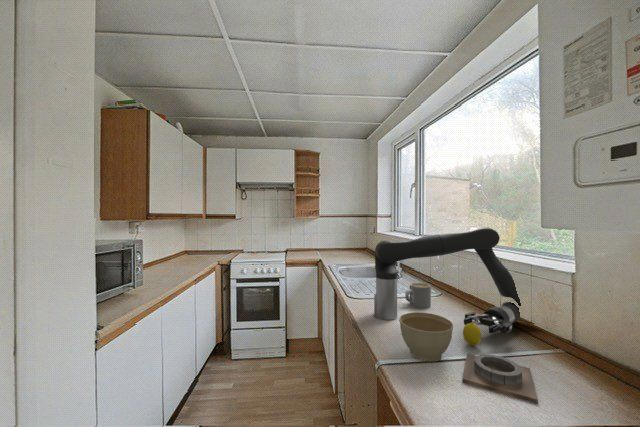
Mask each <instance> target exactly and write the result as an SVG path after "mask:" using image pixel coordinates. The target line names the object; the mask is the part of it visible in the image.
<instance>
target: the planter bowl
mask: <svg viewBox="0 0 640 427" xmlns="http://www.w3.org/2000/svg"><path fill="white" fill-rule="evenodd" d="M399 325H400V332H401V335H402V339H403V341H404V343H405V345H406V346H407V347H408V349H409V352H410V355H412V357H414V358H416V359H418V360H421V361H425V362H437V361H440V360H441V359H442V356H443V354H444V353H445V352H446V351H447V350H448V348H449V347H450V344H451V342H452V338H453V337H452V336H453V330H454V323H453V322H452V321H451V320H449V319H448V318H446V317H443V316H441V315H438V314H435V313H429V312H420V311H419V312H417V311H414V312H412V311H411V312H407V313H403V314H402V315H400V316H399Z"/></svg>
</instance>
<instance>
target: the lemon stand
mask: <svg viewBox="0 0 640 427" xmlns="http://www.w3.org/2000/svg"><path fill="white" fill-rule="evenodd" d="M462 383H463V384H466V385H471V386H474V387H476V388H477V387H478V388H480V389H484V390H488V391H492V392H495V393H499V394H502V395H506V396H509V397H513V398H517V399H521V400H523V401H527V402H530V403H534V404H539V399H538V395H537V392H536V387H535V386H536V385H535V382H534V379H533V375H532V371H531V368H530V367H526V366H523V365H519V364H518V363H516V362H515V361H514V360H511V359H508V358H506V357H503V356H500V355H495V354H487V353H486V354H485V353H484V354H483V353H481V354H478V355H474V354H470V353H466V355H465V362H464V368H463V375H462Z"/></svg>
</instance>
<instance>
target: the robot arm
mask: <svg viewBox="0 0 640 427" xmlns="http://www.w3.org/2000/svg"><path fill="white" fill-rule="evenodd" d="M500 239H501V238H500V234H499V233H498V231H497V230H495V229H493V228H490V227H481V228H477V229H474V230H469V231H465V232H451V233H450V232H449V233H438V234H429V235H426V236H425V235H424V236H422V237H418V238H415V239H412V240H409V241H402V242H392V241H388V240H383V241H380V242H378V243H377V244H376V245H375V250H374V269H375V293H374V299H373V300H374V302H373V305H374V308H373V309H374V310H373V313H374V314H373V315H374V317H377V318H378V319H381V320H387V321H391V320H396V319H397V318H398V271H397V270H398V269H397V267H396V265H397V263H396V262H400V261H404V260H409V259H410V260H411V259H416V258H417V259H420V258H430V257H431V258H432V257H437V256H438V257H440V256H445V255H450V254H454V253H458V252H462V251H467V250H474V251H475V253H476V255H478V257H479V258H480V260H481V262H482V263H483V265H484V266H485V267H486V269H487V271H488V273H489V274H490V277H491V278H492V281H493V282H494V285H495V286H496V289H497V290H498V292H499V294H500V296H501V297H504V298H509V299H513V301H516V302H517V303H518V305H519V306H521V303H520V299H519V297H518V294H517V291H516V287H515V283H516V282H515V283H514V281H515V280H513V279H514V278H513V276H512V274H511V273H510V271H509V270H508V269H507V267H506V266H505V265H504V264H503V263H502V262H501V261H500V259H499V257H497V255H496V254H495V252H494V250H493V248H495V247H496V246H498V244H499V242H500ZM519 317H520V312H519V308H518V307H517V306H516V305H515V304H514V303H511V302H508V301H505V302H503V303H502V304H501V305H496V306H494V307H491V308H489V309H486V310H485V311H484V312H483V313H482V314H477V313H476V312H475V311H471V312H467V313H465V314H464V318H463V325H464V326H465V325H467V324H469V323H473V324H475V325H477V326H484V327H488V333H489V334H490V335H493V334H495V333H502V334H504V335H506V334H508V333H510V332H512V330H513V323H516V322H517V321H519V320H520V318H519Z"/></svg>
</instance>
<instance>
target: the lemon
mask: <svg viewBox="0 0 640 427" xmlns="http://www.w3.org/2000/svg"><path fill="white" fill-rule="evenodd" d="M462 330H463V331H462V336H463V339H464V341H465V342H466V343H467V344H469V345H470V346H471V347H474V346H477V345H479V344H480V343H481V340H482V332H481V329H480V328H479V325H476V324H475V323H469V324H467V325H464V327H463V329H462Z"/></svg>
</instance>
